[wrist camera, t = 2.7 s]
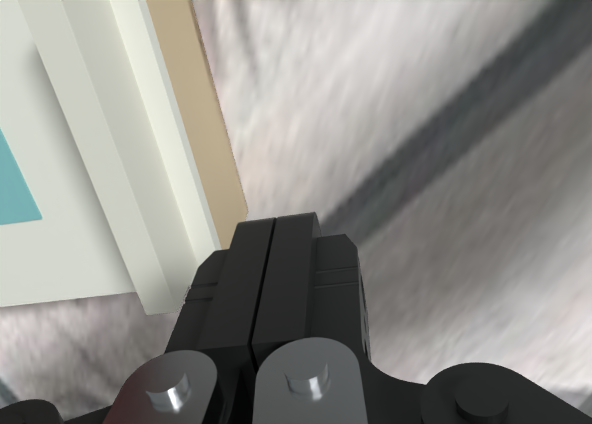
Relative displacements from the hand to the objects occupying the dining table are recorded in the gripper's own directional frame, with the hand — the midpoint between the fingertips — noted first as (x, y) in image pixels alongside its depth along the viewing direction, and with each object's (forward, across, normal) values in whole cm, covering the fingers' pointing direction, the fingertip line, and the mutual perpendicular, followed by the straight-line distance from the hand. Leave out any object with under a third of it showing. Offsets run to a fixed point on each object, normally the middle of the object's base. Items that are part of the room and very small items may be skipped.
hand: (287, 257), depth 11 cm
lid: (+10, +14, 0) cm, 17 cm away
